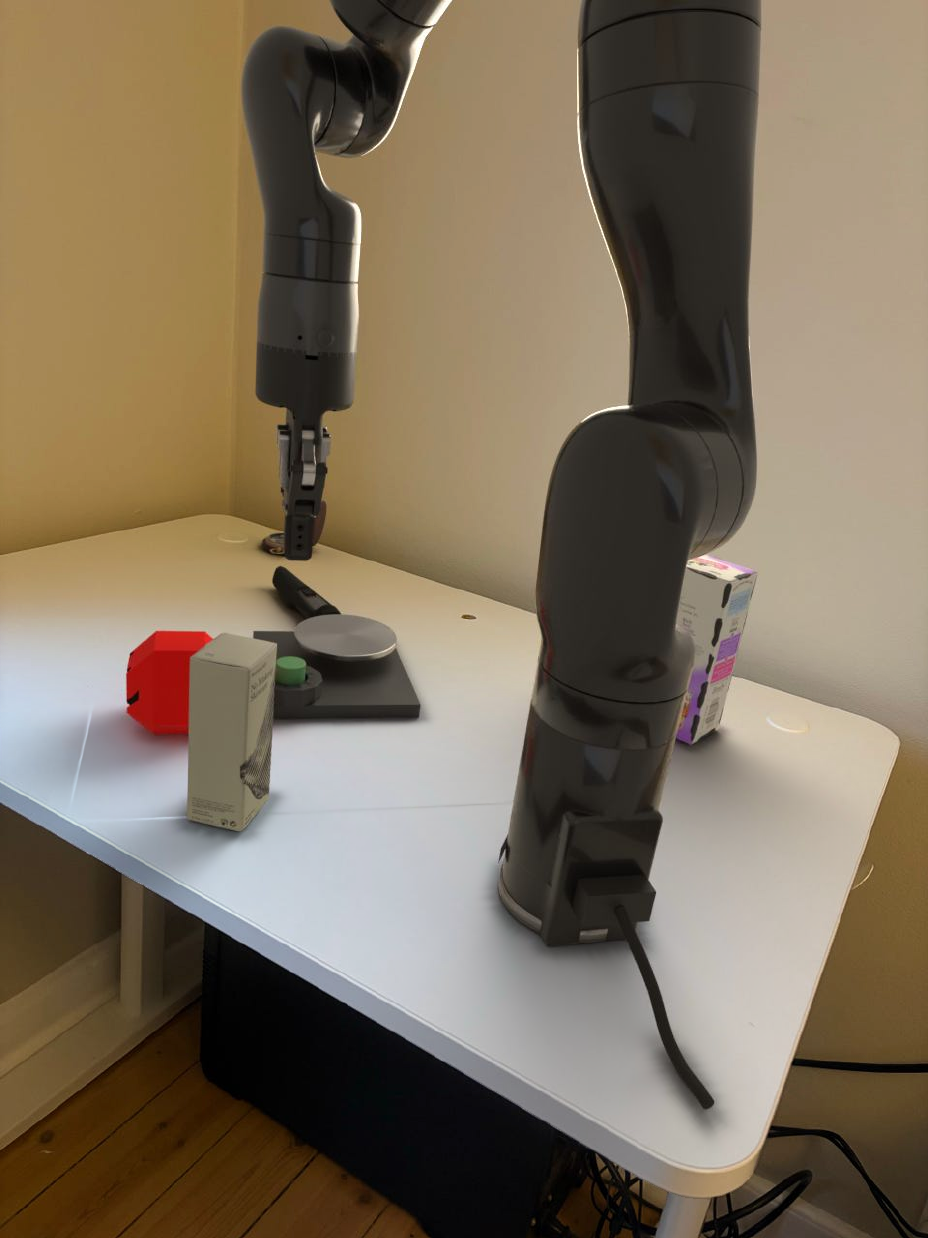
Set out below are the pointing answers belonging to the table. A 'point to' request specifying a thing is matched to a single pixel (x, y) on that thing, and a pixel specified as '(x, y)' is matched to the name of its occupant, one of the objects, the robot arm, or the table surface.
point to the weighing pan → (345, 637)
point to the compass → (276, 540)
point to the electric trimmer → (300, 595)
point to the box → (230, 730)
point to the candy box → (712, 637)
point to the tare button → (290, 670)
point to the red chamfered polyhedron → (162, 680)
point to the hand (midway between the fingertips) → (297, 557)
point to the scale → (342, 686)
